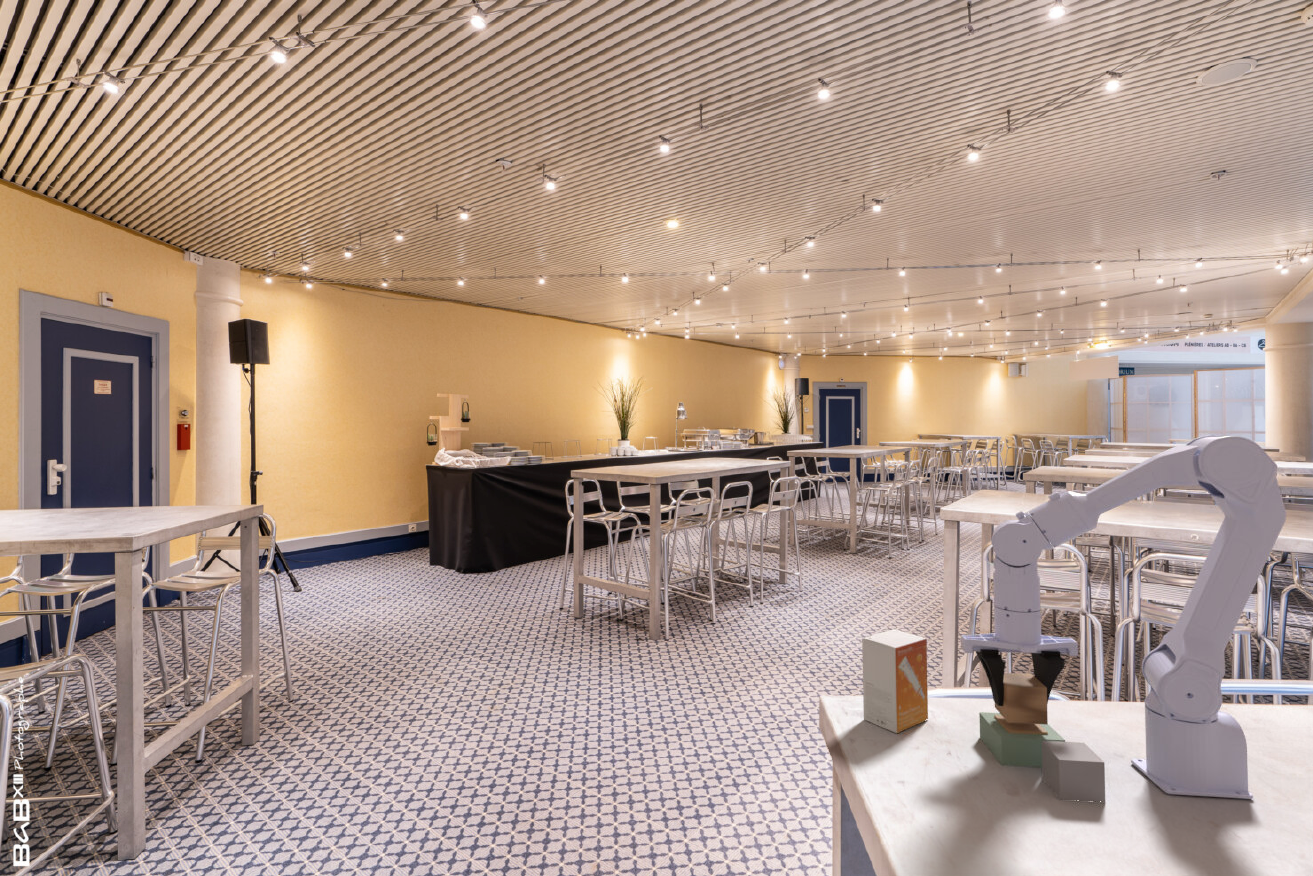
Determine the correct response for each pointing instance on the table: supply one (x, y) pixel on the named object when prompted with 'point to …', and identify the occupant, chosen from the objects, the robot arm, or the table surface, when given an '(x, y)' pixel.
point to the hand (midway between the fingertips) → (1019, 704)
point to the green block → (1015, 740)
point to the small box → (895, 680)
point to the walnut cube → (1023, 699)
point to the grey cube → (1073, 771)
